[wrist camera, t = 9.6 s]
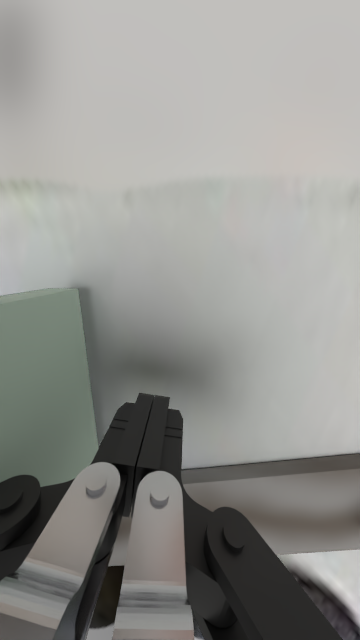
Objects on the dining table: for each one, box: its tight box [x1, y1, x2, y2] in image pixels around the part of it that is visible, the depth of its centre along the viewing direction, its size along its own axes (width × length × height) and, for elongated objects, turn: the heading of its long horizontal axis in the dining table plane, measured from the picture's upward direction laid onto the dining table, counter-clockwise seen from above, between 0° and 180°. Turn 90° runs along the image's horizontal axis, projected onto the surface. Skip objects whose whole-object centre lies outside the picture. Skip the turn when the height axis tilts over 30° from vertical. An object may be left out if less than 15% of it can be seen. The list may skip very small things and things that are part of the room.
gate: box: [0, 289, 99, 640], centre depth 9 cm, size 19×2×7 cm, turn 0°
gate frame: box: [108, 454, 360, 566], centre depth 11 cm, size 8×29×9 cm, turn 99°
